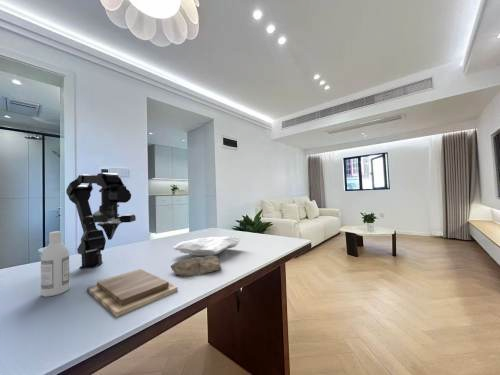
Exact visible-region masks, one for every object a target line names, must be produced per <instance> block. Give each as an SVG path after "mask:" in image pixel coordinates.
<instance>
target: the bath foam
mask: <svg viewBox="0 0 500 375" xmlns="http://www.w3.org/2000/svg"><path fill="white" fill-rule="evenodd" d="M48 233H49V235H48V236H49V239H48V241H49V243H48V245H47V246H46V247H45V249H44V250H43V251H42V253H41V257H40V291H41V292H40V294H41V296H43V297H44V298H45V297H46V298H47V297H53V296H54V297H55V296H58V295H60V294H64V293H65V292H67V291H68V290H69V289H70V253H69V250H68V247H67V246H65V244H64V243H63V242H62V231H61V230H60V231H59V230H55V231H50V232H48Z"/></svg>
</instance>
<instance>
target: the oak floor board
mask: <svg viewBox="0 0 500 375" xmlns="http://www.w3.org/2000/svg"><path fill="white" fill-rule="evenodd" d="M86 292H88V293H89V294H90V295H91V296H92V297H93V298H94V299H95V300H97V301H98V302H99V303H100V304H101V305H103V307H104V308H106V310H108V311H109V312H110V313H111V314H113V316H114V317H116V318H118V317H120V316H123V315H124V314H127V313H130V312H132V311H134V310H136V309H138V308H141V307H143V306H145V305H147V304H150V303H152V302H155V301H157V300H159V299H162V298H164V297H167V296H168V295H171V294H173V293H176V292H178V286H177V285H173V284H172V283H170V282H169V287H167V288H165V289H162V290H160V291H157V292H155V293H152V294H150V295H147V296H145V297H142V298H140V299H137V300H135V301H132V302H130V303H127V304H125V305H122V306H121V305H120V304H119V303H118V302H116V301H115V300H114V299H113V298H111V297H110V296H109V295H107V294H106V293H105V292H104V291H102V290H101V289H100V288H98V287H97V283H96V284H93V285H90V286H87V287H86Z"/></svg>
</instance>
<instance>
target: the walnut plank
mask: <svg viewBox="0 0 500 375" xmlns="http://www.w3.org/2000/svg"><path fill="white" fill-rule="evenodd" d="M169 283H170V281H167V280H165V279H163V278H160V277H158V276H156V275H154V274H152V273H149V272H148V271H145V270H144V269H141V268H139V269H134V270H132V271H128V272H126V273H125V272H124V273H122V274H121V273H120V274H118V275H115V276H112V277H108V278H104V279H101V280H98V281H97V282H96V284H97V287H98V288H100V289H101V290H102V291H104V292H105V293H106V294H107V295H109V296H110V297H111V298H113V299H114V300H115V301H116V302H118V303H119V304H120V305H121V306H122V305H125V304H127V303H130V302H132V301H135V300H137V299H140V298H142V297H145V296H147V295H150V294H152V293H155V292H157V291H160V290H162V289H165V288H167V287H169Z"/></svg>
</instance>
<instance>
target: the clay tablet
mask: <svg viewBox="0 0 500 375" xmlns="http://www.w3.org/2000/svg"><path fill="white" fill-rule="evenodd" d="M170 268H171V270H172V271H173V272H174V273H175V276H176V275H177V276H182V277H183V276H185V277H192V276H199V275H205V274H208V273H213V272H216V271H217V272H218V271H219V270H221V268H222V267H221V259H219V257H218V256H216V255H211V256H198V257H192V258H191V257H190V258H185V259H180V260H177V261H176V262H174V263H172V264H171V265H170Z"/></svg>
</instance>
